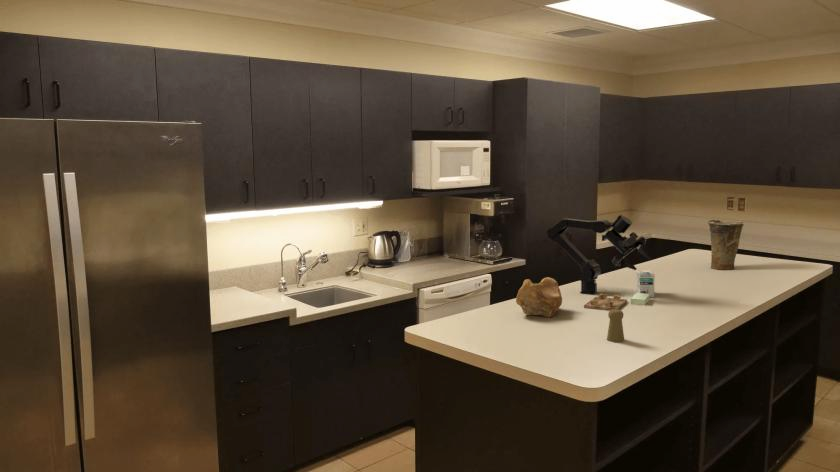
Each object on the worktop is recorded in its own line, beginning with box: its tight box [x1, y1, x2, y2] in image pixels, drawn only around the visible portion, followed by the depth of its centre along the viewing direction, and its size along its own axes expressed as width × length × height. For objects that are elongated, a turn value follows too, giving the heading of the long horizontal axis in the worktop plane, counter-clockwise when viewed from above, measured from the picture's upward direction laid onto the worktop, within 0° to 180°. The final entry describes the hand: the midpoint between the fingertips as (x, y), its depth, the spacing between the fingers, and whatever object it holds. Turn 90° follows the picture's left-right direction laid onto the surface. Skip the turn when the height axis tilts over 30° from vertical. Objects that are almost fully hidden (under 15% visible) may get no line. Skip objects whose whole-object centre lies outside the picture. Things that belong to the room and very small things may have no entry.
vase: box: [707, 219, 745, 271], centre depth 349 cm, size 18×18×27 cm
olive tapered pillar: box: [606, 309, 625, 343], centre depth 224 cm, size 6×6×11 cm
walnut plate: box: [583, 293, 628, 312], centre depth 276 cm, size 14×18×3 cm
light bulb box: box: [636, 269, 655, 298], centre depth 293 cm, size 11×7×11 cm, turn 168°
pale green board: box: [630, 292, 651, 306], centre depth 280 cm, size 6×12×3 cm, turn 151°
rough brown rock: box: [515, 276, 563, 319], centre depth 263 cm, size 23×17×15 cm
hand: (643, 264), depth 282 cm, fingers open, 9 cm apart
